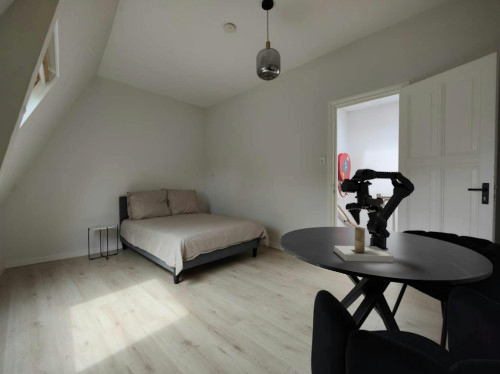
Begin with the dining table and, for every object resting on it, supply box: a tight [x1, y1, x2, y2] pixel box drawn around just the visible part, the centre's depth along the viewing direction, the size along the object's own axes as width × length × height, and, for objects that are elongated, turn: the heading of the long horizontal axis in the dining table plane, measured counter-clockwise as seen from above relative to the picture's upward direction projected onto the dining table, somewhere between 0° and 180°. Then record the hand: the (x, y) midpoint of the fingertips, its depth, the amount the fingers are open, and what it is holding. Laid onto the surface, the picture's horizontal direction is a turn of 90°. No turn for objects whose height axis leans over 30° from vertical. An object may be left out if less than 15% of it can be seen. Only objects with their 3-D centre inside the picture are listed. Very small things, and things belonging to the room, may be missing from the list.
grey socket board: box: [333, 245, 395, 263], centre depth 104 cm, size 20×14×2 cm
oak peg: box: [354, 226, 366, 254], centre depth 102 cm, size 4×4×13 cm
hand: (365, 225), depth 110 cm, fingers open, 9 cm apart
